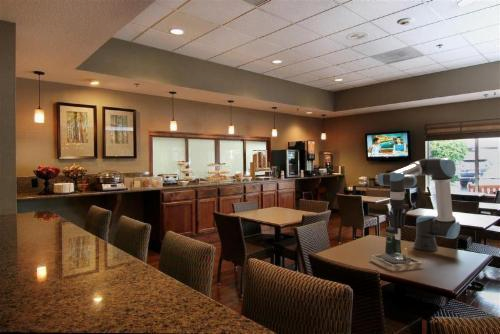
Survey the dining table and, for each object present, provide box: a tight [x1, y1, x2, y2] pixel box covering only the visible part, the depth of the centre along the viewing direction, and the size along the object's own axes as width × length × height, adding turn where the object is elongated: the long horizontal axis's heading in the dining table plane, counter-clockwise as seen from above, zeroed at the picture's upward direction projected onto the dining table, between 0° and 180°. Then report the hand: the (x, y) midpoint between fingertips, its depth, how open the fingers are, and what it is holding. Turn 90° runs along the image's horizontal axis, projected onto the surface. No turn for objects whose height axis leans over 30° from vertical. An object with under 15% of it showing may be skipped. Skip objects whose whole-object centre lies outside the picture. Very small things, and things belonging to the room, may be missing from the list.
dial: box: [382, 247, 412, 264], centre depth 195 cm, size 16×16×9 cm
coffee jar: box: [384, 225, 402, 254], centre depth 214 cm, size 10×8×19 cm
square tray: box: [370, 253, 423, 272], centre depth 195 cm, size 20×20×4 cm
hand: (397, 239), depth 187 cm, fingers closed
